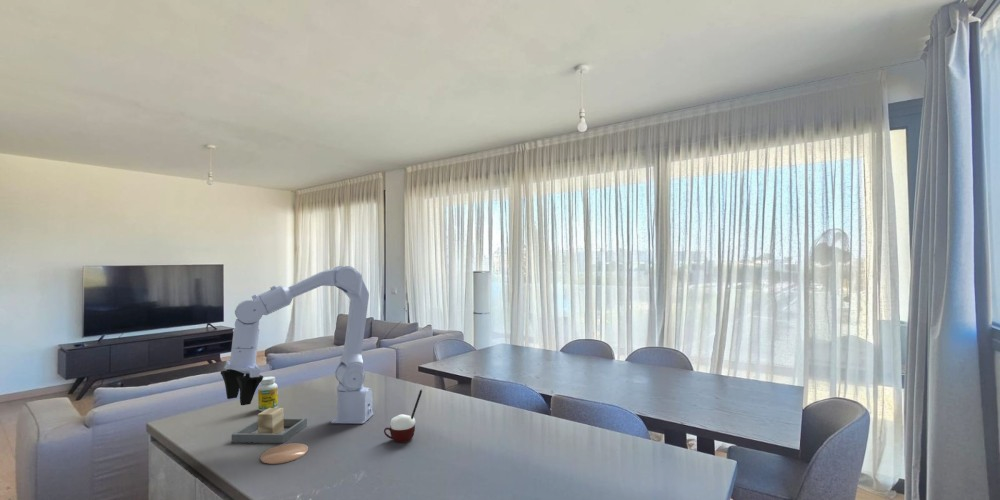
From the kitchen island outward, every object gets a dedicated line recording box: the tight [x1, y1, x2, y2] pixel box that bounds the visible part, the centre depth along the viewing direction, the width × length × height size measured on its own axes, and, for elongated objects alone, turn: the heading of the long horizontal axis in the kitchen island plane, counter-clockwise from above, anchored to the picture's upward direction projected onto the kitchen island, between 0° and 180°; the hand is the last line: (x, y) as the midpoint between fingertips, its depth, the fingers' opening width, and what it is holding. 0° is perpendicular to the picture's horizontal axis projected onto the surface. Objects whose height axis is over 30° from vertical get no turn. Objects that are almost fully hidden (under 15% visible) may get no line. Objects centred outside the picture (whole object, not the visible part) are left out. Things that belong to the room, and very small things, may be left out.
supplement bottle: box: [257, 376, 279, 412], centre depth 135 cm, size 5×5×10 cm
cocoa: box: [383, 389, 423, 444], centre depth 109 cm, size 10×6×12 cm, turn 79°
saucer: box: [260, 442, 309, 465], centre depth 102 cm, size 10×10×1 cm
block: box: [257, 407, 285, 434], centre depth 115 cm, size 4×5×6 cm
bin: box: [231, 417, 308, 444], centre depth 115 cm, size 14×12×2 cm
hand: (238, 401), depth 110 cm, fingers open, 7 cm apart
